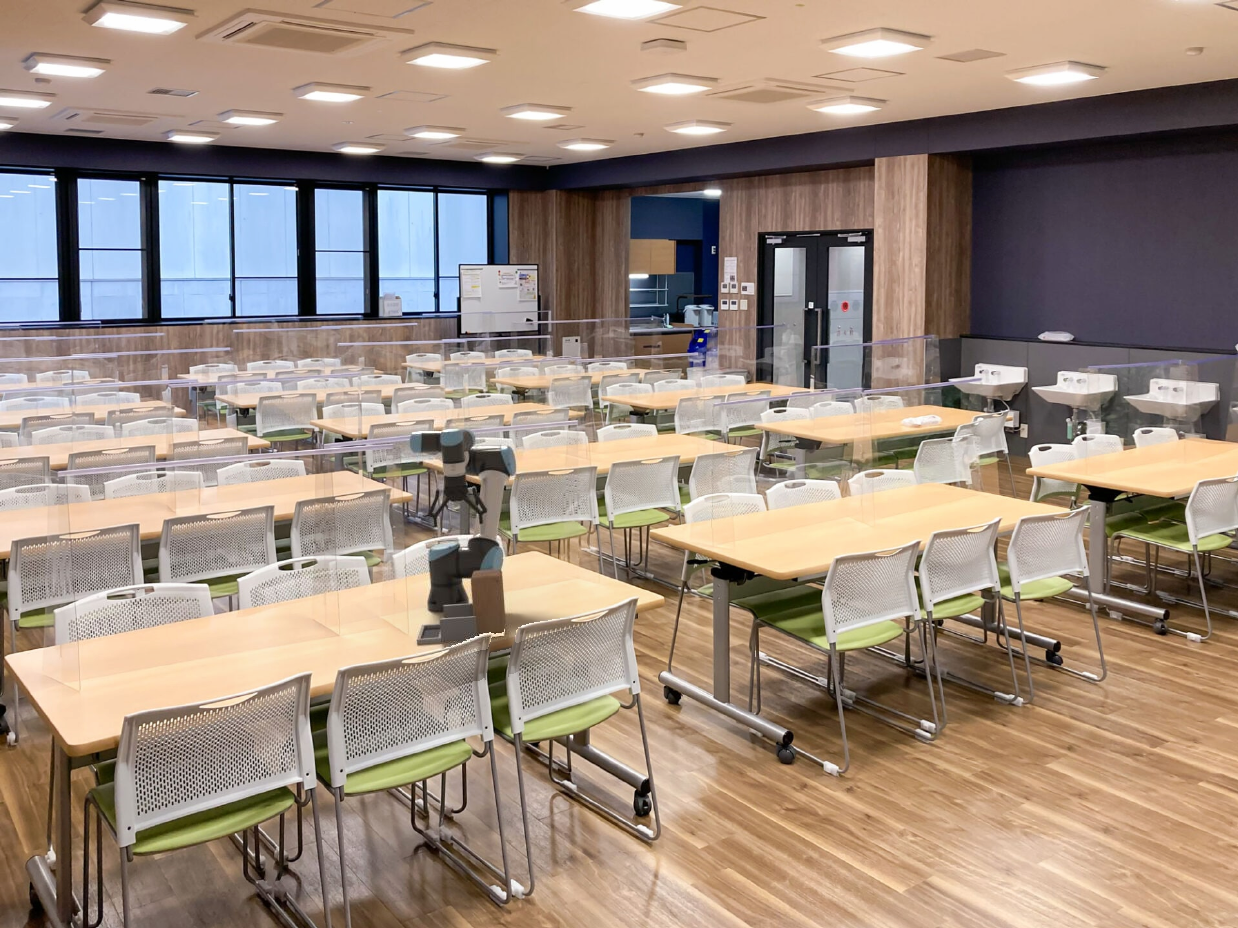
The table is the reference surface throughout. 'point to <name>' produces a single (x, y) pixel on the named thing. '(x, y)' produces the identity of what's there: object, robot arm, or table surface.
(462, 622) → the channel
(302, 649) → the table surface
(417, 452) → the robot arm
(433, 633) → the pit trap
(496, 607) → the wooden block
